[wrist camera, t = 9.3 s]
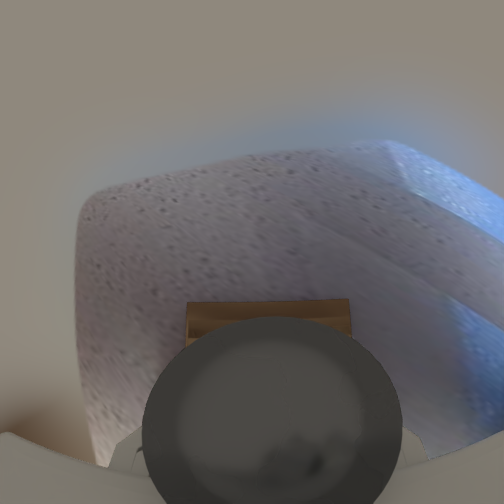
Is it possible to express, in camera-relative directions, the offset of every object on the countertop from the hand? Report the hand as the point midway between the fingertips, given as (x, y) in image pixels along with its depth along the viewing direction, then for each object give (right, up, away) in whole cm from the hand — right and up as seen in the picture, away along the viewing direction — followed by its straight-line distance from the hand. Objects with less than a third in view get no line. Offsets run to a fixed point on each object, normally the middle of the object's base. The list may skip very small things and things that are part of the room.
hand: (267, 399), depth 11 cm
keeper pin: (0, -3, +5) cm, 6 cm away
